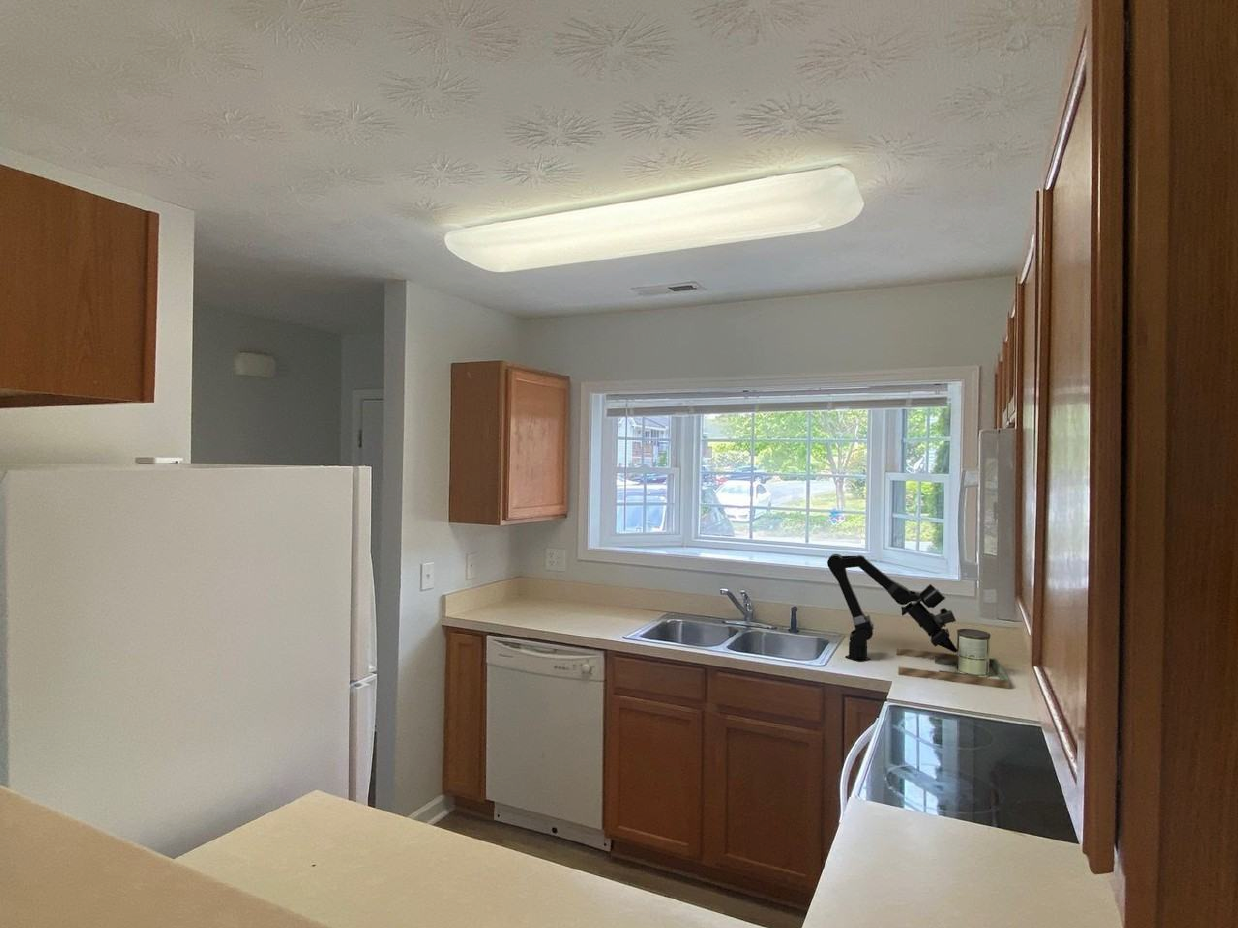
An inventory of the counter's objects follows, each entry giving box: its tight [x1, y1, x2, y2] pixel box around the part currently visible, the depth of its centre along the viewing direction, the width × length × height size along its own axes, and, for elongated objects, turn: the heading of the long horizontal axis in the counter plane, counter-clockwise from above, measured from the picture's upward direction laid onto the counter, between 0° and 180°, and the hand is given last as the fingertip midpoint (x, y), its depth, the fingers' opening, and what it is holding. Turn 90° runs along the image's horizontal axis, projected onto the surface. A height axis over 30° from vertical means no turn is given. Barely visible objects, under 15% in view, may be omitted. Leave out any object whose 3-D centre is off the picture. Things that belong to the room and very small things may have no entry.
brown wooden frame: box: [896, 647, 1010, 690], centre depth 239 cm, size 33×27×3 cm
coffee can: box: [955, 628, 992, 678], centre depth 236 cm, size 10×10×14 cm
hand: (956, 651), depth 238 cm, fingers closed
